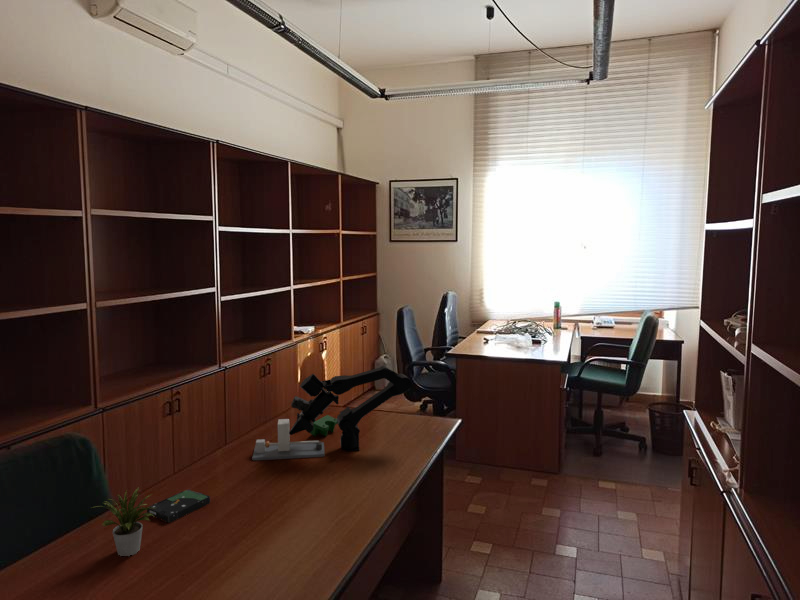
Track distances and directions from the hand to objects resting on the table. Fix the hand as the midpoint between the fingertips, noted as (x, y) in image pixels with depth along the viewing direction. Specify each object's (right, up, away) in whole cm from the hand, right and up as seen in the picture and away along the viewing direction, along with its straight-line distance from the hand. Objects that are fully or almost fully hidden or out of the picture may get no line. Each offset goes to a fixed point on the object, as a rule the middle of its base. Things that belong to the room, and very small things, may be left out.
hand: (289, 433), depth 216 cm
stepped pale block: (-2, -6, 0) cm, 6 cm away
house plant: (-29, -15, -68) cm, 75 cm away
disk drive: (-25, -13, -43) cm, 51 cm away
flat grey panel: (0, -7, +1) cm, 7 cm away
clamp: (+10, -5, +22) cm, 25 cm away
